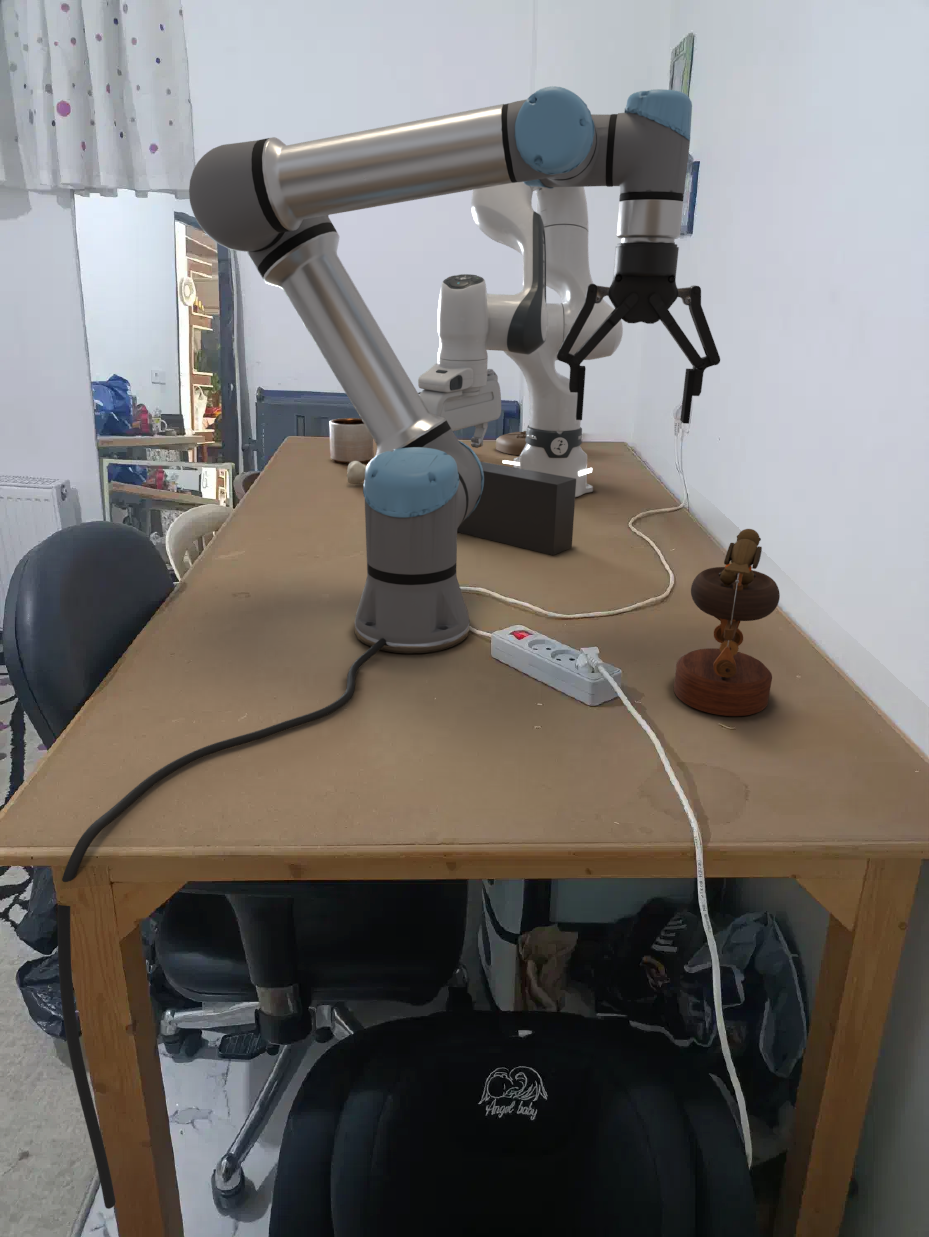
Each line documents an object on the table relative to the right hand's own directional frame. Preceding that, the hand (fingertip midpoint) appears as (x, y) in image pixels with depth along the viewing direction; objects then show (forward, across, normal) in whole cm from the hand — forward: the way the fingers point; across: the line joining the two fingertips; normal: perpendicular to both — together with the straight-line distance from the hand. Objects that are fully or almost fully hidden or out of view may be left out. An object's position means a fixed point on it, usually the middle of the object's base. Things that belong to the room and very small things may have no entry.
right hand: (461, 451), depth 155 cm
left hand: (-15, +20, +44) cm, 51 cm away
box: (+14, +1, +10) cm, 17 cm away
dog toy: (+16, -16, -32) cm, 39 cm away
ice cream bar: (+18, -66, -26) cm, 73 cm away
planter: (+17, -28, -57) cm, 66 cm away
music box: (+11, +36, +66) cm, 76 cm away
